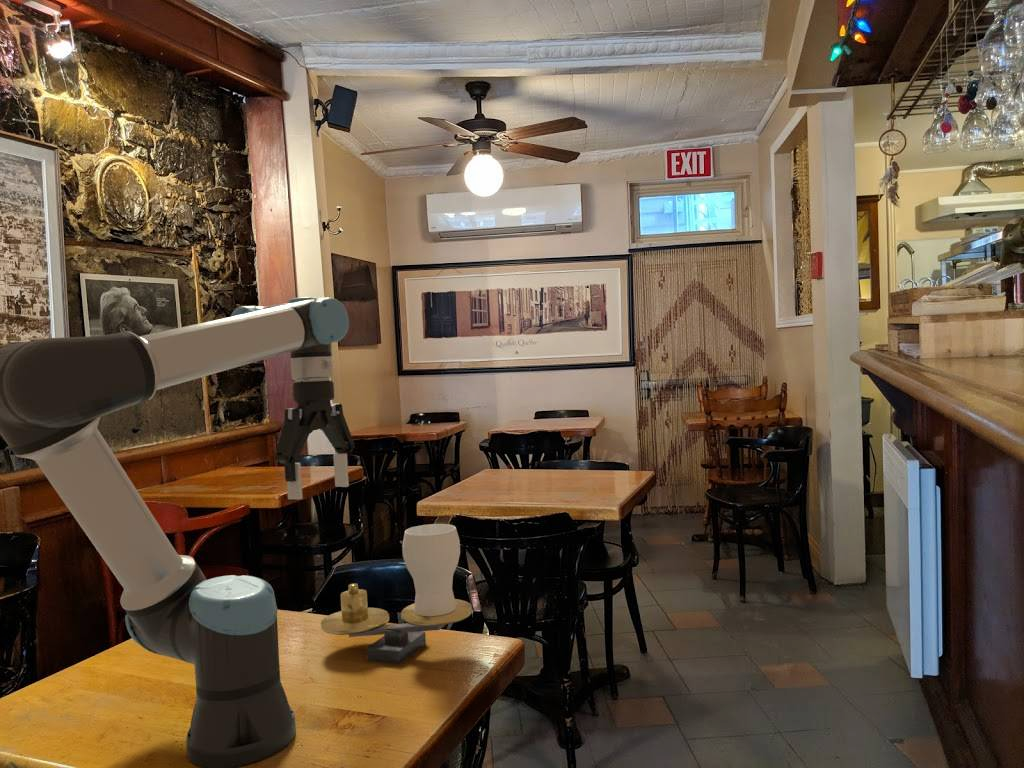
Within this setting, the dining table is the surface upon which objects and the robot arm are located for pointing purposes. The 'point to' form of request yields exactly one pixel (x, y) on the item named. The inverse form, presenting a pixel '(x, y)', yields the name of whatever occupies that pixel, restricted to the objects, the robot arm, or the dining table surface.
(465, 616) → the balance
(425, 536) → the cup
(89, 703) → the dining table surface
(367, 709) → the dining table surface
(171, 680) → the dining table surface
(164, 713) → the dining table surface
